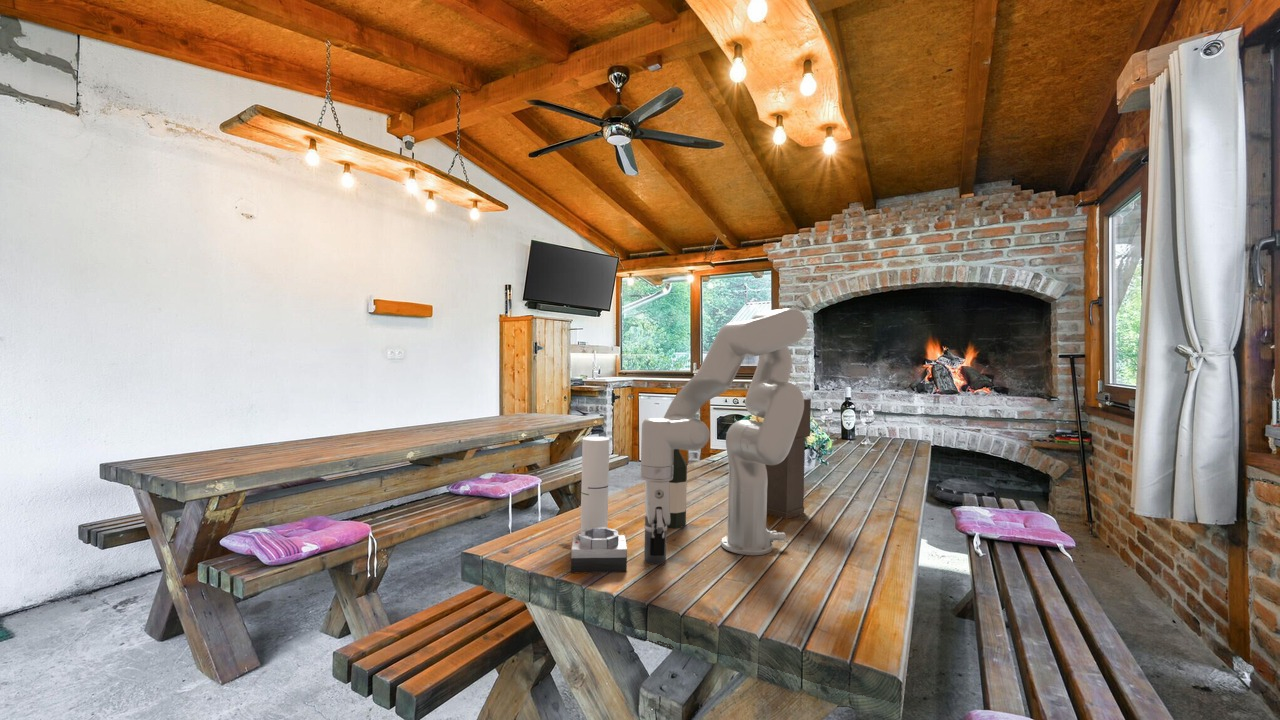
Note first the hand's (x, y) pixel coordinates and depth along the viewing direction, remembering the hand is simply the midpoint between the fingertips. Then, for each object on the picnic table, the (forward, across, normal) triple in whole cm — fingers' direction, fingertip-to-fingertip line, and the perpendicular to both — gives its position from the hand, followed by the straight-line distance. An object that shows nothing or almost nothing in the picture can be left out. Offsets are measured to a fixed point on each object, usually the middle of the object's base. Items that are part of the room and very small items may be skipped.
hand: (655, 548), depth 122 cm
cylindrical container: (+3, +20, +14) cm, 25 cm away
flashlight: (+3, 0, 0) cm, 3 cm away
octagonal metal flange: (+3, -2, +13) cm, 13 cm away
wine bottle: (+3, +27, -8) cm, 28 cm away
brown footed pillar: (+3, +41, -42) cm, 59 cm away
